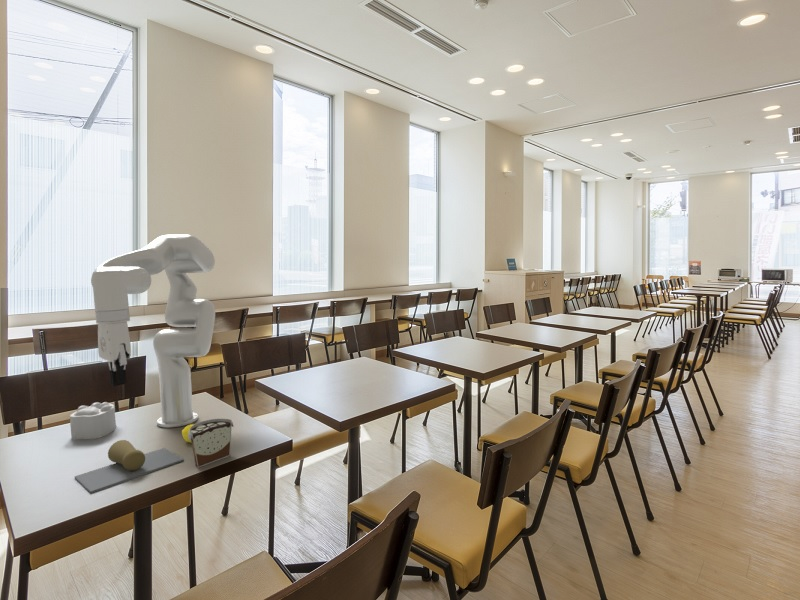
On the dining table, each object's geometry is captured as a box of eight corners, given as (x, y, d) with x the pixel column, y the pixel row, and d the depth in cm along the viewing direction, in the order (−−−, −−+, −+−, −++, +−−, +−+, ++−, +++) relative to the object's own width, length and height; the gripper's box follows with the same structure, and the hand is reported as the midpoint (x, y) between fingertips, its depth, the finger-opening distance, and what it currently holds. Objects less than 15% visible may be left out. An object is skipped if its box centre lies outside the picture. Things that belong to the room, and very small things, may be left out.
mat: (74, 478, 117) (74, 476, 117) (164, 449, 134) (164, 447, 134) (90, 493, 109) (90, 491, 109) (183, 460, 126) (183, 459, 126)
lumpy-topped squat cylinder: (66, 439, 142) (63, 412, 141) (92, 424, 155) (90, 399, 154) (100, 439, 142) (98, 411, 141) (124, 423, 155) (122, 398, 154)
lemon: (207, 440, 141) (209, 423, 140) (196, 447, 136) (197, 430, 135) (187, 435, 142) (188, 419, 142) (175, 443, 137) (176, 425, 136)
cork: (103, 461, 123) (119, 472, 116) (113, 438, 124) (129, 448, 117) (126, 463, 127) (143, 475, 120) (136, 441, 129) (152, 451, 122)
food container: (223, 448, 134) (221, 414, 133) (235, 453, 130) (233, 419, 129) (180, 463, 124) (178, 427, 123) (192, 470, 120) (189, 433, 119)
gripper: (86, 315, 123) (92, 382, 125) (107, 320, 113) (113, 393, 115) (117, 312, 128) (123, 376, 130) (139, 317, 119) (145, 386, 121)
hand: (118, 384), depth 123 cm, fingers closed
